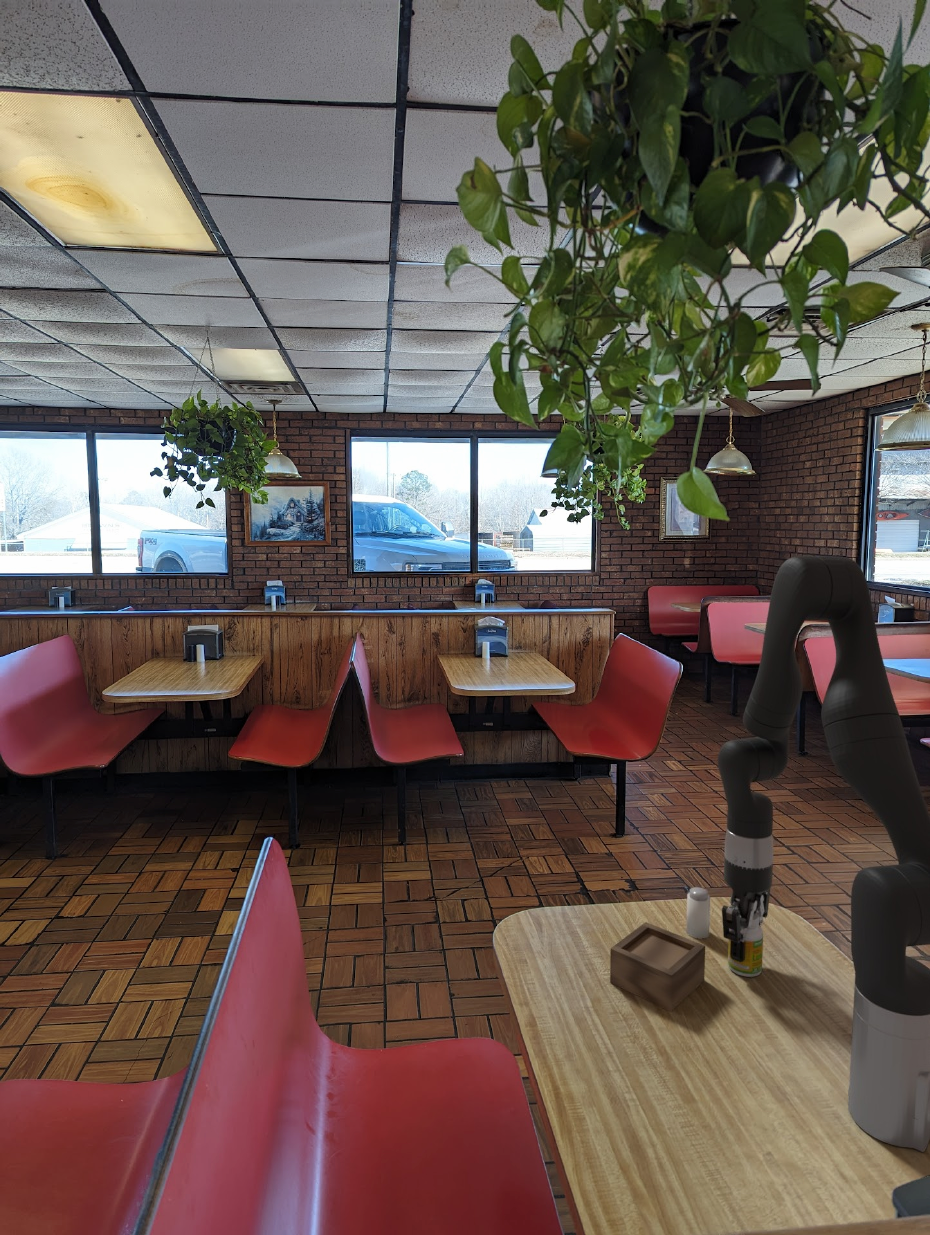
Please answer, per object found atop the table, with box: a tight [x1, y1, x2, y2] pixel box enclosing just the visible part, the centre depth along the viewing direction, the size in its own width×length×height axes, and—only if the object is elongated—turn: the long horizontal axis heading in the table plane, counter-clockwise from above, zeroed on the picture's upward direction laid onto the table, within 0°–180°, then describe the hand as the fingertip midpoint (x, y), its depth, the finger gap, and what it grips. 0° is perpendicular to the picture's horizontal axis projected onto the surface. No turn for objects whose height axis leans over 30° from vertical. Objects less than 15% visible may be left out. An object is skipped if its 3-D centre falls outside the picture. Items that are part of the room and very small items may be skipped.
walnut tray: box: [609, 921, 706, 1013], centre depth 125 cm, size 11×11×6 cm
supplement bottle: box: [727, 913, 764, 978], centre depth 127 cm, size 5×5×10 cm
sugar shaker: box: [686, 886, 711, 940], centre depth 139 cm, size 4×4×8 cm
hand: (745, 951), depth 128 cm, fingers closed on supplement bottle, 5 cm apart
